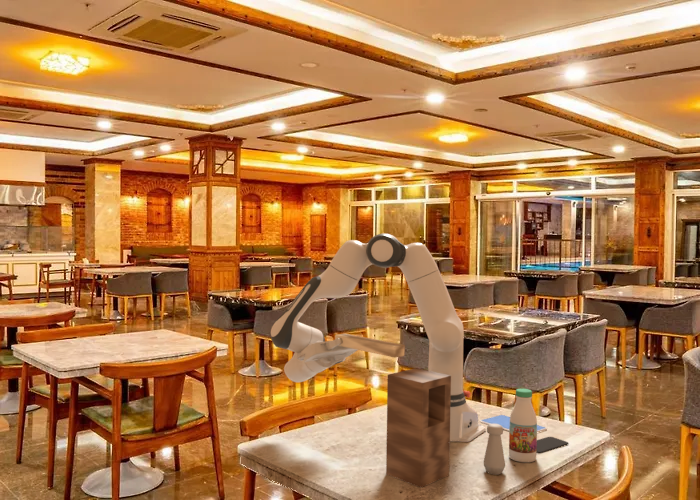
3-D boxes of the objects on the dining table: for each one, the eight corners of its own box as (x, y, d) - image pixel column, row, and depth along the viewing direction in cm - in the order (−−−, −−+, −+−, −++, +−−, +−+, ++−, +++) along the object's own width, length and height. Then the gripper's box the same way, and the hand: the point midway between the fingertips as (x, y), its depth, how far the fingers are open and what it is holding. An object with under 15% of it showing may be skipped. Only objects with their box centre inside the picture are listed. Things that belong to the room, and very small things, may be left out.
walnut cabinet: (414, 462, 175) (416, 368, 174) (449, 475, 166) (450, 375, 165) (386, 474, 166) (387, 374, 165) (421, 487, 158) (422, 382, 157)
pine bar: (344, 343, 189) (344, 333, 189) (404, 355, 172) (404, 344, 171) (335, 344, 186) (335, 334, 186) (394, 357, 169) (395, 346, 169)
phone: (518, 445, 189) (550, 436, 198) (518, 448, 189) (550, 438, 198) (538, 452, 183) (570, 442, 192) (538, 455, 183) (569, 445, 192)
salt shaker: (505, 477, 165) (506, 429, 165) (483, 475, 167) (484, 427, 166) (504, 468, 171) (505, 422, 171) (483, 467, 172) (484, 420, 172)
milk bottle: (505, 453, 183) (506, 386, 182) (530, 453, 184) (531, 386, 183) (514, 463, 175) (515, 393, 175) (540, 463, 176) (542, 393, 175)
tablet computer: (478, 423, 214) (478, 419, 214) (501, 417, 221) (501, 413, 221) (524, 438, 198) (524, 434, 198) (548, 431, 206) (548, 427, 206)
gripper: (291, 350, 187) (318, 333, 179) (340, 342, 202) (367, 326, 193) (297, 370, 185) (325, 353, 177) (346, 360, 200) (374, 345, 191)
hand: (347, 339), depth 185 cm, fingers closed on pine bar, 4 cm apart
